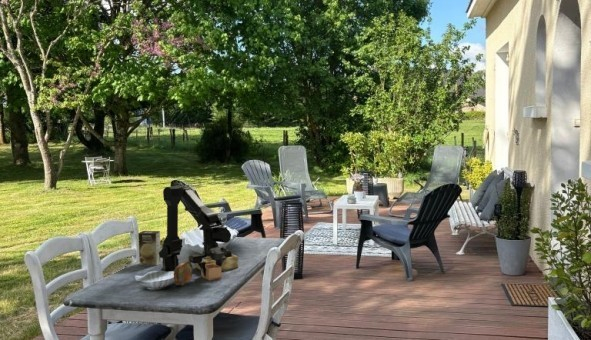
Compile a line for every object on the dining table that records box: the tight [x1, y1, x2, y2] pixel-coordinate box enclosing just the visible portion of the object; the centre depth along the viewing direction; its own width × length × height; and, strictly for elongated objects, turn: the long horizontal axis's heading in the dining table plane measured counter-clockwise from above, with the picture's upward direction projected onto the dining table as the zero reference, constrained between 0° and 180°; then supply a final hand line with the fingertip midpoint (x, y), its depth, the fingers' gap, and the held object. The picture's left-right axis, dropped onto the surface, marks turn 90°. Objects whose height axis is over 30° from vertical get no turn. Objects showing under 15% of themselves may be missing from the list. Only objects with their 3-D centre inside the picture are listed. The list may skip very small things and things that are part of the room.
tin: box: [173, 260, 194, 286], centre depth 239 cm, size 15×3×8 cm, turn 168°
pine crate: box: [194, 253, 239, 272], centre depth 261 cm, size 16×13×6 cm
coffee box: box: [138, 230, 162, 266], centre depth 272 cm, size 9×6×16 cm
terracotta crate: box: [200, 264, 223, 281], centre depth 246 cm, size 6×8×5 cm
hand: (211, 275), depth 246 cm, fingers closed on terracotta crate, 6 cm apart
